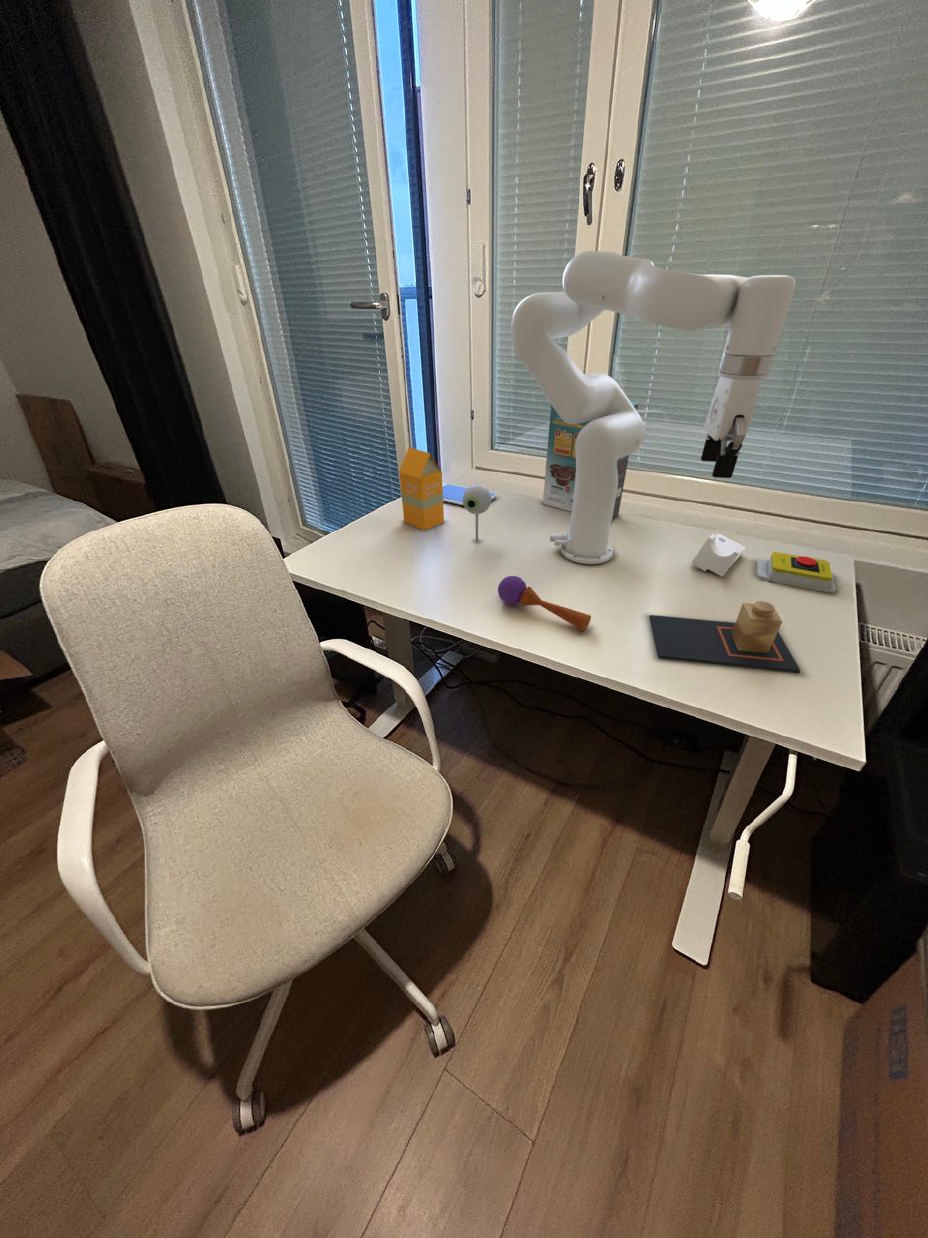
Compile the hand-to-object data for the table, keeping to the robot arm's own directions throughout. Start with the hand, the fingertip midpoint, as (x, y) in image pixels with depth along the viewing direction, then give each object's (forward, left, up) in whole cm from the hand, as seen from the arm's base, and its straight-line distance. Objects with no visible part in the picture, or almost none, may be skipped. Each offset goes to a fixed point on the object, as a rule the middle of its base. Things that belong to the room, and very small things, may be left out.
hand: (715, 468), depth 90 cm
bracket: (+11, +14, -26) cm, 32 cm away
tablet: (-58, +46, -26) cm, 79 cm away
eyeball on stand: (-48, +16, -26) cm, 57 cm away
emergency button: (+26, +10, -26) cm, 38 cm away
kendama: (-29, -15, -26) cm, 42 cm away
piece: (+9, -19, -26) cm, 33 cm away
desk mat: (+4, -19, -26) cm, 33 cm away
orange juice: (-65, +26, -26) cm, 75 cm away
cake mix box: (-22, +42, -26) cm, 54 cm away
